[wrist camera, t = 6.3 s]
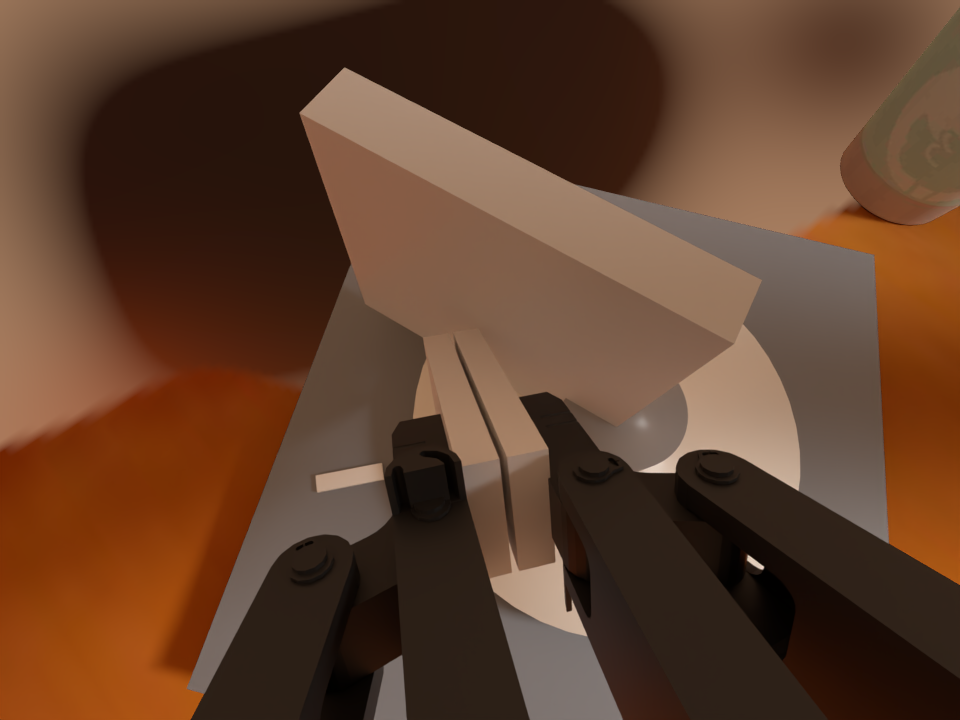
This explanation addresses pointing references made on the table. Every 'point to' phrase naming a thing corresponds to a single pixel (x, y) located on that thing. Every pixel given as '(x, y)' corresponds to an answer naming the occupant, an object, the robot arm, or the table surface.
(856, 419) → the dial plate
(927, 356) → the table surface
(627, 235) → the dial
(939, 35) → the coffee cup
